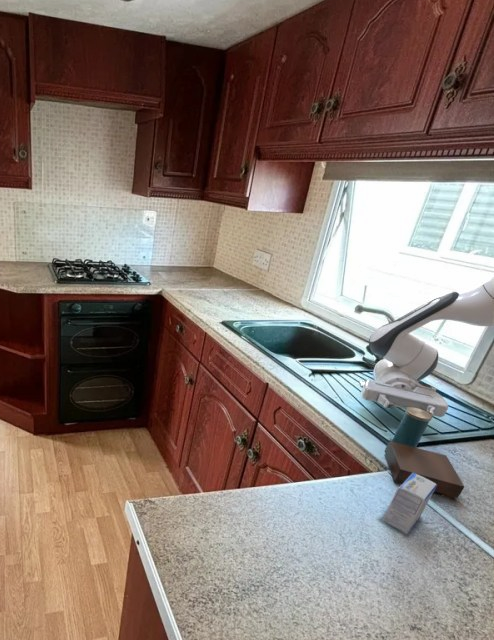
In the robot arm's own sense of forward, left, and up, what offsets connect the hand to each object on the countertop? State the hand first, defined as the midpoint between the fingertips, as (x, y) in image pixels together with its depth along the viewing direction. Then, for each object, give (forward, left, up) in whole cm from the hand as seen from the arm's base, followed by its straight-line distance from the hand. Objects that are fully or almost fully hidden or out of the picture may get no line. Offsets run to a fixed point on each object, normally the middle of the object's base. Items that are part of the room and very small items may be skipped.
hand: (408, 411), depth 106 cm
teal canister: (0, +6, -7) cm, 9 cm away
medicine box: (+7, +37, -8) cm, 38 cm away
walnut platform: (0, +19, -7) cm, 20 cm away
